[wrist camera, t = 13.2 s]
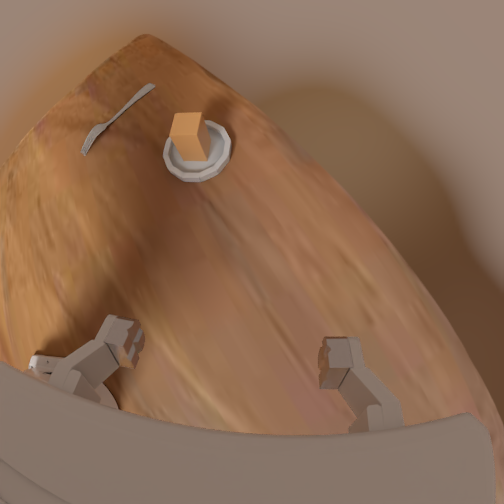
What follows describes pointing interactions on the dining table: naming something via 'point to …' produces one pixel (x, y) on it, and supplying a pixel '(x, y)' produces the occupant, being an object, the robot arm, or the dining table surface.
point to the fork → (101, 127)
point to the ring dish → (200, 169)
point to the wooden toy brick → (191, 136)
